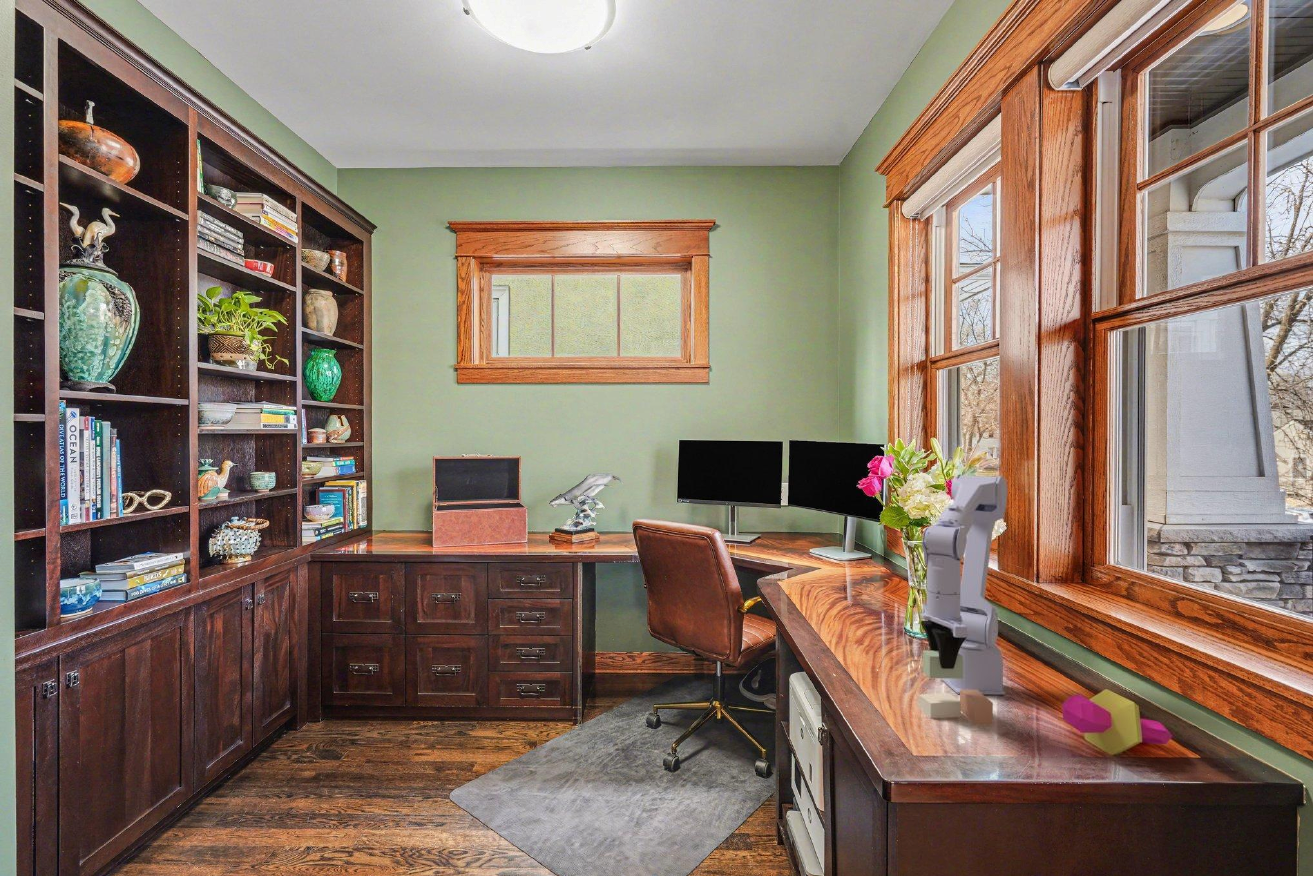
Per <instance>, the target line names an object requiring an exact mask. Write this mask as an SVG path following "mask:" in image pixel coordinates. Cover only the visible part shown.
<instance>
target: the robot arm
mask: <svg viewBox="0 0 1313 876" xmlns="http://www.w3.org/2000/svg"><path fill="white" fill-rule="evenodd" d="M950 489H951V498H952V500H953V503H952V504H949V505H947V506H946V507H945V508H944V509H943V510H942V512H941V513H940V515H939V517H938V519H937V520H936V521H935V523H934V525H929V527H926V528H924V531H923V533H922V541H921V547H922V552H923V560H924V561H923V562H924V566H926V604H922V611H921V613H919V614H920V615H919V617H920V618H921V619H923V620H921V621H920V625H921V626H922V629H923V631H924V633H925V636H926V639H927V641H928V646H929V651H939V660H940V665H941V668H943V669H954V666H955V663H956V659H957V655H958V653H959V654H960V655H961V656H963V679H956V678H940V679H941V681H943V682H944V683H945V684H946V685H947V686H948V687H949V688H950V689H952V690H953V692H955V693H956V694H958V695H960V689H963V690H978V691H979V692H980V693H982V694H983V695H998V696H999V695H1005V691H1004V659H1003V655H1002V652H1001V650H1000V648H999V647H998V646H997V645H996V644H997V640H998V637H999V636H998V634H999V622H998V620H999V613H998V611H997V609H996V607H995V606H994V605H993V604H992V603H990V601H988V600H987V599H986V598H985V597H986V587H987V582H988V581H987V580H988V574H989V573H988V571H989V563H990V555H991V545H992V538H993V532H994V528H995V525H996V522H997V521H999V520H1002V519H1004V517H1005V514H1006V509H1007V508H1006V507H1007V502H1008V501H1007V499H1008V484H1007V481H1006V479H1005V477H1004V476H1002V475H999V476H989V475H967V474H966V475H965V474H961V473H960V474H959V473H958V474H956V475H955V476H954V477H953V478H952V482H951V488H950ZM962 559H963V565H962V562H961V560H962ZM961 569H962V570H961Z"/></svg>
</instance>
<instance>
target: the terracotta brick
mask: <svg viewBox="0 0 1313 876" xmlns="http://www.w3.org/2000/svg"><path fill="white" fill-rule="evenodd" d="M959 701H961V713H963V715H964V716H965V717H966V718H967V719H969V720H970V722H972V723H973V725H986V726H987V725H990V726H993V720H994V719H993V715H994V713H993V712H994V710H993V709H994V707H993V706H994V703H993V702H992V700H990V699H988V697H987V696H985V694H982V693H980V692H979V691H978V690H963V689H960V694H959Z"/></svg>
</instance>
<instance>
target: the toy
mask: <svg viewBox="0 0 1313 876" xmlns="http://www.w3.org/2000/svg"><path fill="white" fill-rule="evenodd" d="M1061 705H1062V719H1063V720H1064V721H1065V722H1066V723H1067V724H1069V725H1070V726H1071V727H1072V728H1074V729H1076V730H1077V731H1078V732H1080V733H1081V734H1084V740H1085V741H1087V742H1089V743H1090V744H1091V745H1093V746H1095V747H1097V748H1098V749H1100V750H1102V751H1104V752H1106V753H1107V754H1109V755H1110V756H1115V755H1119V754H1122V753H1123V752H1125V751H1128V750H1129V749H1131V748H1133V747H1135V746H1136V745H1137V746H1138V744H1140V743H1143V744H1155V745H1158V744H1159V745H1166V744H1167V743H1168V742H1170V741H1171V739H1172V738H1173V735H1172V734H1171V732H1170V731H1169V730H1168V729H1167V728H1166V726H1165V725H1164V724H1163V723H1161V722H1160V721H1156V720H1151V719H1146V718H1141V716H1140V706H1139V705H1138V704H1137V703H1135V702H1134V701H1132V700H1130V699H1128V698H1126V697H1124V696H1121V695H1120V694H1118V693H1116V692H1113V691H1111V690H1109V689H1107V688H1106V689H1104V690H1102V691H1101V692H1099V693H1097V694H1096V695H1094V696H1092V697H1091V698H1089V699H1088V698H1087V697H1086V696H1084V695H1083V694H1082V695H1081V694H1079V693H1078V694H1074V695H1072V696H1069V698H1067V699H1066V700H1065V701H1063V703H1062V704H1061Z"/></svg>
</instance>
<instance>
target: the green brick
mask: <svg viewBox="0 0 1313 876" xmlns="http://www.w3.org/2000/svg"><path fill="white" fill-rule="evenodd" d="M922 672H923V673H924V675H926V677H928V678H929V679H941V678H956V679H963V656H961V655H960V654H959V653H958V655H957V659H956V663H955V666H954V669H943V668H941V665H940V660H939V651H930V650H922Z"/></svg>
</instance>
